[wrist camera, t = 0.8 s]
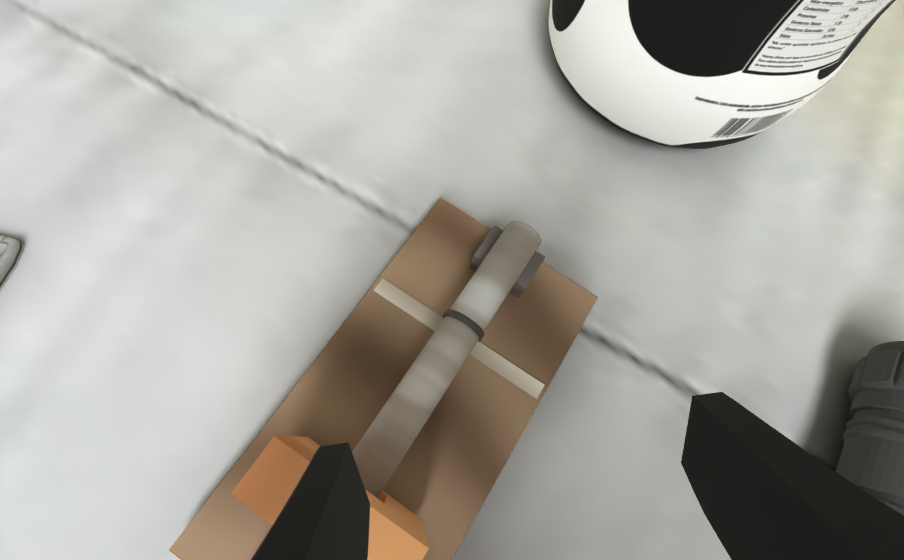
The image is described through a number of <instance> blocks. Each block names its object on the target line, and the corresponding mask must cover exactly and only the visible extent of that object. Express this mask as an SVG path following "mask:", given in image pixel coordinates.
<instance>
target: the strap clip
mask: <svg viewBox="0 0 904 560" xmlns="http://www.w3.org/2000/svg"><path fill="white" fill-rule="evenodd" d="M0 243H4V244H8V245H7V247H6V249H5V250H4V252H3V254H2V255H1V257H0V291H1V289H2V288H3V286H4V285H5V283H6V282H7V280H8V279H9V277H10V276H11V274H12V273H13V271H14V270H15V268H16V267H17V265H18V263H19V260H20V258H21V255H22V253H23V250H24V244H23V242H21V241H19V240H17V239H15V238H11V237H7V236H3V235H0Z"/></svg>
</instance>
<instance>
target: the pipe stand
mask: <svg viewBox="0 0 904 560" xmlns="http://www.w3.org/2000/svg"><path fill="white" fill-rule="evenodd" d="M540 243H541V238H540V236H539V234H538V233H537V231H536V230H535V229H533V228H532V227H531V226H529V225H528V224H526V223H523V222H520V221H511V222H509V224H508V225H507V227H506V228H505V230H504V231H503V230H501V229H500V228H498V227H496V226H494V227H493V228H492V230H491V229H489V228H487V227H486V226H484V225H483V224H481V223H479V222H478V221H476V220H475V219H473V218H471V217H470V216H468V215H467V214H465V213H464V212H462V211H460V210H459V209H457V208H456V207H454V206H452V205H451V204H449V203H448V202H446V201H444V200H443V199H441V198H440V199H439V200H438V201H437V203H436V204H435V205H434V207H433V208H432V209H431V210H430V212H429V213H428V214H427V216H426V217H425V218H424V220H423V221H422V222H421V223H420V225H419V226H418V227H417V229H416V230H415V231H414V233H413V234H412V235H411V236H410V238H409V239H408V240H407V242H406V243H405V244H404V246H403V247H402V248H401V249H400V251H399V252H398V253H397V255H396V256H395V257H394V258H393V260H392V261H391V262H390V264H389V265H388V266H387V268H386V269H385V270H384V271H383V273H382V274H381V275H380V277H379V278H378V279H377V281H376V282H375V283H374V284H373V286H372V287H371V288H370V290H369V291H368V292H367V294H366V295H365V296H364V297H363V299H362V300H361V301H360V303H359V304H358V305H357V307H356V308H355V309H354V310H353V312H352V313H351V314H350V316H349V317H348V318H347V320H346V321H345V322H344V323H343V325H342V326H341V327H340V329H339V330H338V331H337V332H336V334H335V335H334V336H333V338H332V339H331V340H330V342H329V343H328V344H327V345H326V347H325V348H324V349H323V351H322V352H321V353H320V355H319V356H318V357H317V358H316V360H315V361H314V362H313V364H312V365H311V366H310V368H309V369H308V370H307V371H306V373H305V374H304V375H303V377H302V378H301V379H300V381H299V382H298V383H297V384H296V386H295V387H294V388H293V390H292V391H291V392H290V393H289V395H288V396H287V397H286V399H285V400H284V401H283V403H282V404H281V405H280V406H279V408H278V409H277V410H276V412H275V413H274V414H273V416H272V417H271V418H270V419H269V421H268V422H267V423H266V425H265V426H264V427H263V429H262V430H261V431H260V432H259V434H258V435H257V436H256V438H255V439H254V440H253V442H252V443H251V444H250V445H249V447H248V448H247V449H246V451H245V452H244V453H243V455H242V456H241V457H240V458H239V460H238V461H237V462H236V464H235V465H234V466H233V467H232V469H231V470H230V471H229V473H228V474H227V475H226V477H225V478H224V479H223V480H222V482H221V483H220V484H219V486H218V487H217V488H216V490H215V491H214V492H213V493H212V495H211V496H210V497H209V499H208V500H207V501H206V503H205V504H204V505H203V506H202V508H201V509H200V510H199V512H198V513H197V514H196V516H195V517H194V518H193V519H192V521H191V522H190V523H189V525H188V526H187V527H186V528H185V530H184V531H183V532H182V534H181V535H180V536H179V538H178V539H177V540H176V541H175V543H174V544H173V545H172V547H171V548H170V549H169V551H171V552H172V553H173V554H175V555H176V556H177V557H178V558H180V559H181V560H251V558H252V557H253V555H254V554H255V552H256V551H257V549H258V548H259V546H260V544H261V543H262V541H263V540H264V538H265V536H266V535H267V533H268V532H269V530H270V528H271V527H272V525H271V524H270V523H269V522H267V521H266V520H265V519H263V518H262V517H261V516H259V515H258V514H257V513H255V512H254V511H253V510H251V509H250V508H249V507H247V506H246V505H245V504H243V503H242V502H241V501H239V500H238V499H237V498H235V497H234V496H233V495H232V494H231V493H232V491H233V490H234V489H235V487H236V486H237V485H238V483H239V482H240V481H241V479H242V478H243V477H244V475H245V474H246V473H247V472H248V470H249V469H250V468H251V466H252V465H253V464H254V462H255V461H256V460H257V458H258V457H259V456H260V454H261V453H262V452H263V450H264V449H265V448H266V446H267V445H268V444H269V442H270V441H271V440H272V438H273V437H274V436H304V437H309V438H310V439H312V440H313V441H315V442H316V443H317V444H319V445H320V446H326V445H334V444H341V443H349V445H350V448H351V451H352V454H353V457H354V460H355V462H356V465H357V468H358V471H359V474H360V477H361V479H362V482H363V485H364V488H365V490H367V491H368V492H369V493H371V494H372V495H374V496H375V497H376V498H378V496H379V494H380V493H381V491H382V490H383V491H384V492H385V493H387V494H388V495H390V496H391V497H392V498H394V499H395V500H397V501H398V502H399V503H401V504H402V505H404V506H405V507H406V508H408V509H409V510H410V511H412V512H413V513H415V514H416V515H417V516H419V517H420V518H422V519H423V523H424V528H425V533H426V537H427V542H428V547H429V549H428V551H427V553H426V554H425V556H424V558H423V559H422V560H452V558H453V557H454V555H455V553H456V551H457V549H458V548H459V546H460V544H461V542H462V540H463V539H464V537H465V535H466V533H467V531H468V530H469V528H470V526H471V524H472V523H473V521H474V519H475V517H476V515H477V514H478V512H479V510H480V508H481V506H482V505H483V503H484V501H485V499H486V497H487V496H488V494H489V492H490V490H491V488H492V487H493V485H494V483H495V481H496V479H497V478H498V476H499V474H500V472H501V470H502V469H503V467H504V465H505V463H506V461H507V460H508V458H509V456H510V454H511V452H512V451H513V449H514V447H515V445H516V443H517V442H518V440H519V438H520V436H521V434H522V433H523V431H524V429H525V427H526V426H527V424H528V422H529V420H530V418H531V417H532V415H533V413H534V411H535V409H536V408H537V406H538V404H539V402H540V400H541V399H542V397H543V395H544V393H545V391H546V390H547V388H548V386H549V384H550V382H551V381H552V379H553V377H554V375H555V373H556V372H557V370H558V368H559V366H560V364H561V363H562V361H563V359H564V357H565V355H566V354H567V352H568V350H569V348H570V346H571V345H572V343H573V341H574V339H575V337H576V336H577V334H578V332H579V330H580V328H581V327H582V325H583V323H584V321H585V320H586V318H587V316H588V314H589V312H590V311H591V309H592V307H593V305H594V303H595V302H596V300H597V298H598V297H597V296H596V295H594V294H592V293H591V292H589V291H588V290H586V289H584V288H583V287H581V286H580V285H578V284H576V283H575V282H573V281H572V280H570V279H569V278H567V277H565V276H564V275H562V274H561V273H559V272H557V271H556V270H554V269H553V268H551V267H549V266H548V265H546V264H545V263H543V260H544V259H545V257H544V256H543V255H541V254H540V253H538V252H536V249H537V248H538V246H539V245H540Z"/></svg>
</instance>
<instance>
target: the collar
mask: <svg viewBox="0 0 904 560" xmlns="http://www.w3.org/2000/svg"><path fill="white" fill-rule="evenodd" d="M319 447H320V445H319V444H317V443H316V442H315V441H313V440H312V439H310V438H309V437H304V436H274V437H273V438H272V440H271V441H270V442H269V444H268V445H267V446H266V448H265V449H264V450H263V452H262V453H261V454H260V456H259V457H258V458H257V460H256V461H255V462H254V464H253V465H252V466H251V468H250V469H249V470H248V472H247V473H246V474H245V475H244V477H243V478H242V479H241V481H240V482H239V483H238V485H237V486H236V487H235V489H234V490H233V491H232V493H231V494H232V495H233V496H234V497H235V498H237V499H238V500H239V501H241V502H242V503H243V504H245V505H246V506H247V507H249V508H250V509H251V510H253V511H254V512H255V513H257V514H258V515H259V516H261V517H262V518H263V519H265V520H266V521H267V522H269V523H270V524H271V525H273V524H274V522H275V520H276V519H277V517H278V516H279V514H280V512H281V511H282V509H283V507H284V506H285V504H286V502H287V501H288V499H289V497H290V495H291V494H292V492H293V490H294V489H295V487H296V485H297V484H298V482H299V480H300V478H301V477H302V475H303V473H304V471H305V470H306V468H307V466H308V464H309V463H310V461H311V459H312V457H313V456H314V454H315V452H316V451H317V449H318V448H319ZM365 491H366V494H367V496H368V499H369V502H370V521H369V543H368V558H367V560H422V559H423V558H424V556H425V554H426V553H427V551H428V549H429V547H428V542H427V537H426V533H425V528H424V523H423V519H422V518H420V517H419V516H417V515H416V514H415V513H413V512H412V511H410V510H409V509H408V508H406V507H405V506H404V505H402V504H401V503H399V502H398V501H397V500H395V499H394V498H392V497H391V496H390V495H388V494H387V493H385V492H384V491H383V490H382V491H381V493H380V494H379V496H378V498H376V497H375V496H374V495H372V494H371V493H369V492H368V491H367V490H365Z"/></svg>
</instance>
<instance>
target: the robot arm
mask: <svg viewBox="0 0 904 560" xmlns="http://www.w3.org/2000/svg"><path fill="white" fill-rule="evenodd" d="M681 463H682V466H683V468H684V470H685V472H686V475H687V477H688V479H689V482H690V484H691V486H692V488H693V491H694V493H695V495H696V497H697V499H698V501H699V503H700V505H701V507H702V510H703V512H704V514H705V515H706V517H707V519H708V520H709V522H710V524H711V526H712V527H713V529H714V531H715V532H716V534H717V536H718V537H719V539H720V541H721V543H722V544H723V546H724V548H725V549H726V551H727V553H728V554H729V556H730V558H731V559H732V560H904V516H903V515H902V514H900V513H898V512H897V511H895V510H894V509H892V508H890V507H889V506H887V505H886V504H884V503H883V502H881V501H879V500H878V499H876V498H875V497H873V496H872V495H870V494H869V493H867V492H866V491H864V490H862V489H861V488H859V487H858V486H856V485H855V484H853V483H852V482H850V481H849V480H847V479H846V478H844V477H843V476H841V475H840V474H838V473H837V472H835V471H834V470H832V469H831V468H830V467H828V466H827V465H825V464H824V463H822V462H821V461H819V460H818V459H816V458H815V457H814V456H812V455H811V454H809V453H808V452H806V451H805V450H803V449H802V448H801V447H799V446H798V445H796V444H795V443H794V442H792V441H791V440H789V439H788V438H786V437H785V436H784V435H782V434H781V433H779V432H778V431H777V430H775V429H774V428H772V427H771V426H770V425H768V424H767V423H765V422H764V421H763V420H761V419H760V418H758V417H757V416H756V415H754V414H753V413H751V412H750V411H749V410H747V409H746V408H744V407H743V406H742V405H740V404H739V403H737V402H736V401H734V400H733V399H732V398H730V397H729V396H727V395H726V394H724V393H723V392H718V393H711V394H703V395H696V396H692V401H691V407H690V413H689V419H688V425H687V431H686V437H685V443H684V449H683V455H682V461H681ZM369 521H370V502H369V499H368V496H367V494H366V491H365V488H364V485H363V482H362V479H361V477H360V474H359V471H358V468H357V465H356V462H355V460H354V457H353V454H352V451H351V448H350V445H349V443H341V444H334V445H326V446H320V447H319V448H318V449H317V451H316V452H315V454H314V456H313V457H312V459H311V461H310V463H309V464H308V466H307V468H306V470H305V471H304V473H303V475H302V477H301V478H300V480H299V482H298V484H297V485H296V487H295V489H294V490H293V492H292V494H291V495H290V497H289V499H288V501H287V502H286V504H285V506H284V507H283V509H282V511H281V512H280V514H279V516H278V517H277V519H276V520H275V522H274V524H273V525H272V527H271V528H270V530H269V532H268V533H267V535H266V536H265V538H264V540H263V541H262V543H261V544H260V546H259V548H258V549H257V551H256V552H255V554H254V555H253V557H252V558H251V560H367V558H368V543H369Z"/></svg>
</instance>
